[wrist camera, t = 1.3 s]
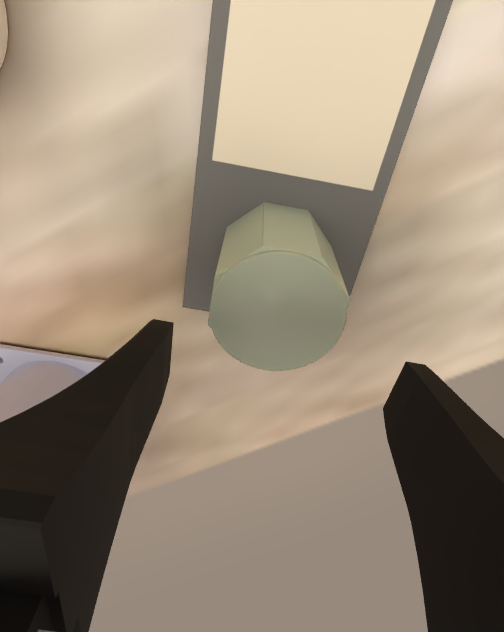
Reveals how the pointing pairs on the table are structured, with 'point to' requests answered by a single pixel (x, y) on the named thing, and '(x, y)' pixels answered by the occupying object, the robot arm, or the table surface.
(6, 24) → the cup
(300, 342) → the sage cup
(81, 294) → the table surface
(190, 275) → the mat
